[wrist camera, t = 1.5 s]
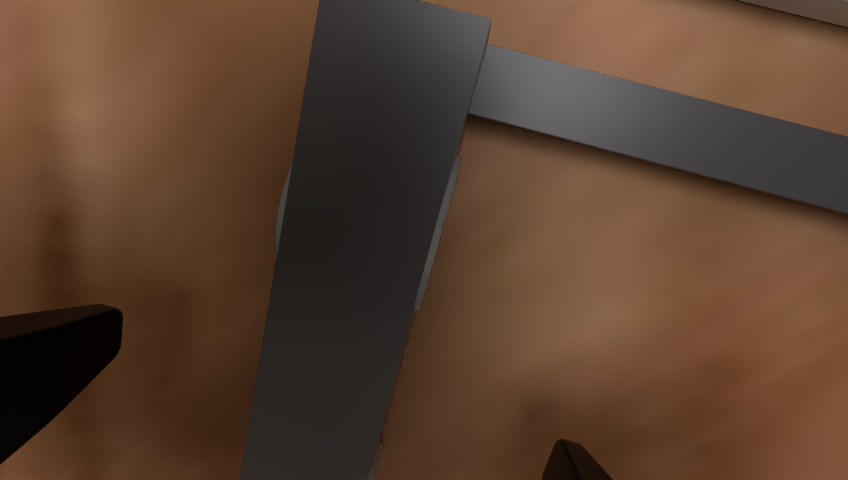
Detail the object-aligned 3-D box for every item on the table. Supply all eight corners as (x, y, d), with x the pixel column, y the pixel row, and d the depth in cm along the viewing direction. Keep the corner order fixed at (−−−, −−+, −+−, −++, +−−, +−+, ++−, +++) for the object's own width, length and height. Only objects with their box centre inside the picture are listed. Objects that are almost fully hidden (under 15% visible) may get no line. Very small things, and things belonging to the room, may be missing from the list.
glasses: (984, 184, 8) (1257, 213, 5) (686, 662, 12) (752, 828, 9) (367, 25, 9) (316, -26, 6) (267, 531, 13) (206, 651, 10)
